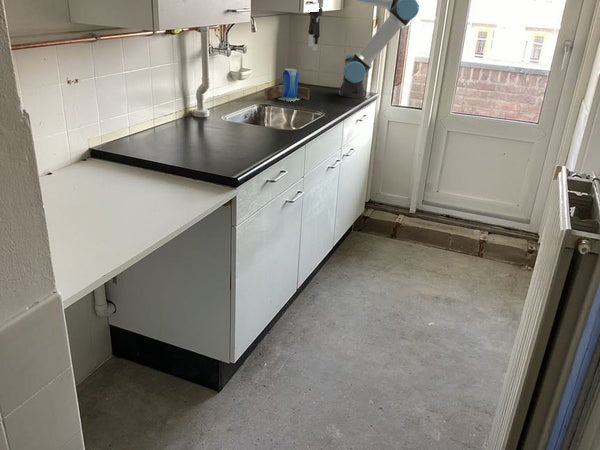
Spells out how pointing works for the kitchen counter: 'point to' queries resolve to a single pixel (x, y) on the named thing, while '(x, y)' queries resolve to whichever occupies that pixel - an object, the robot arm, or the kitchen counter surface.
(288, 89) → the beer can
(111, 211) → the kitchen counter surface
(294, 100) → the pad
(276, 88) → the corner walls
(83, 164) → the kitchen counter surface
